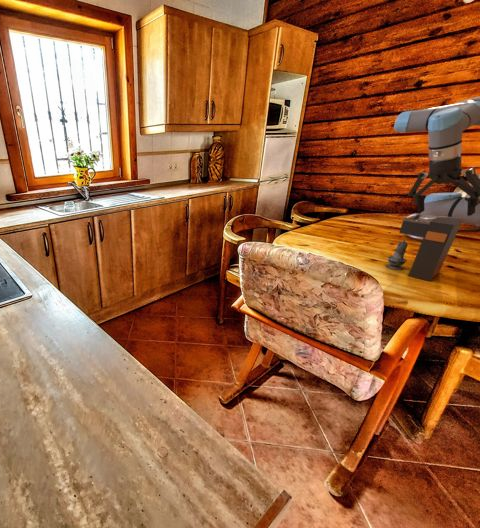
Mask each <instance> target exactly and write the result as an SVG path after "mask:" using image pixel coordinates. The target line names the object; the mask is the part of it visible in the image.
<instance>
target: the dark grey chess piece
mask: <svg viewBox="0 0 480 528" xmlns="http://www.w3.org/2000/svg"><path fill="white" fill-rule="evenodd" d="M408 245H409V244H408V243H407V242H406V240H405V239H403V240H402V241H399V242H398V243H397V245H396V248H394V252H393V255H392V256H388V257H387V262H388V263H387V264H386V265H385V266H386V267H387V269H391V270H399V271H400V270H401V271H402V270H403V269H404V267H402V266H403V265H405V264H406V263H407V262H408V260H407V259H406V258H405V257H404V256H405V254H406V253H407V248H408Z"/></svg>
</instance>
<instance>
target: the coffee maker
mask: <svg viewBox="0 0 480 528" xmlns="http://www.w3.org/2000/svg"><path fill="white" fill-rule="evenodd" d="M462 220H463V219H462V218H454V217H446V216H432V215H424V214H418V212H417V213H416V212H414V213H412V214H410V215H408V216H406V217H404V218H403V219H402V223H401V227H400V228H399V232H398V234H403V235H406V234H408V235H414V236H419V237H424V238H423V240H422V241H421V243H420V246H419V247H418V250H417V253H416V255H415V257H414V260H413V262H412V264H411V267H410V270H409V272H408V274H407V275H408V277H412V278H414V279H419V280H422V281H426V282H430V281H432V279H435V277H436V276H437V275H438V274H439V273H440V272H441V269H442V267H443V265H444V262H445V260H446V258H447V256H448V254H449V251H450V250H451V247H452V245H453V242H454V240H455V238H456V235H457V234H458V232H459V231H458V230H460V227H461V224H463V223H462Z"/></svg>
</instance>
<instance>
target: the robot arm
mask: <svg viewBox="0 0 480 528" xmlns="http://www.w3.org/2000/svg"><path fill="white" fill-rule="evenodd" d="M473 126H480V95H479V96H476V97H472V98H467V99H462V100H459V101H457V102H455V103H453V104H448V105H442V106H435V107H430V108H424V109H423V108H422V109H416V110H408V111H403V112H400V114H398V116H397V117H396V119H395V121H394V125H393V129H394V131H395V132H396V133H404V134H406V133H420V132H421V133H422V132H427V134H428V160H429V161H428V171H426V170H423V171H420V173H418V174H417V178H416V181H415V182H414V184H413V185H412V187H411V188H410V190H409V191H408V193H407V196H408V197H413V198H414V199H413V200H414V205H415V206H416V207H417V208H416V209H417V211H416V212H417V214H424V215H432V216H446V217H454V218H462V219H463V220H462V223H461V224H462V225H463V224H464V225H469V226H474V227H475V228H471V229H470V228H469V229H467V228H465V229H464V228H463V229H462V228H461V229H460V228H459V229H458V231H457V232H476V231H478V230H479V229H480V171H479V173H478V175H477V173H476V168H475V167H471V168H469V169H462V155H461V154H462V153H463V132H464V131H466V130H468V129H470V128H471V127H473ZM461 175H463V176H461ZM464 177H465V178H466V180H467V181H468V182H467V181H466V180H465V179H464ZM426 178H429V179H430V180H429V181H428V182H427V183H426V184H425V185H424V186H423V187H422V188H421V189H420V190H419V188H420V186H421V185H422V184H423V182H424V180H425V179H426ZM434 184H436V185H441V184H444V185H449V184H452V185H453V186H456V187H457V188H458V189H460V190H461V191H462V192H463V193H465V196H463V193H461V192H434V193H430V194H426V196H425V195H424V193H425V192H426V191H428V189H429V188H431V187H432V186H433V185H434ZM418 190H419V191H418ZM405 237H407V238H408V239H411V240H415V241H419V242H422V240H423V238H424V237H419V236H414V235H408V234H405Z"/></svg>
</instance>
